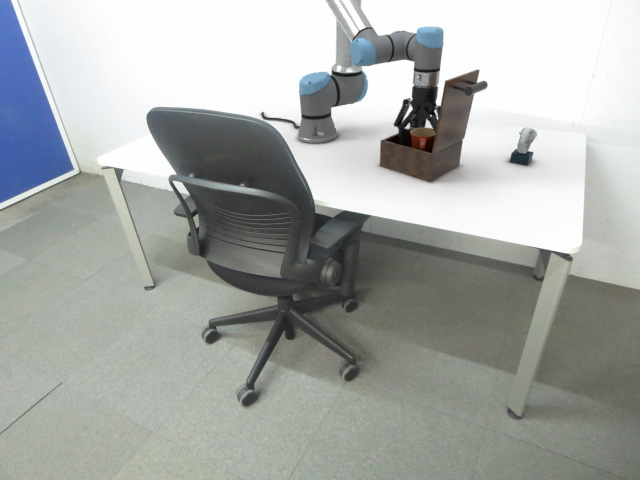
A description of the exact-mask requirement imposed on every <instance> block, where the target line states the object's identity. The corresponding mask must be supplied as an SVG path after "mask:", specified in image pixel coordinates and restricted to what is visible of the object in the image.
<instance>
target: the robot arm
mask: <svg viewBox="0 0 640 480" xmlns="http://www.w3.org/2000/svg"><path fill="white" fill-rule="evenodd" d="M325 2H326V4H327V6H328V7H329V9H330V10H331V12H332V14H333V16H334V17H335V63H334V65H332V67H331V74H330V72H327V71H318V72H311V73H308V74H305V75H304V76H302V77H301V78H300V80H299V82H298V93H299V105H300V115H301V119H300V123H299V125H297V123H296V122H295V121H294V120H293V119H289V118H282V117H269V116H265V111H261V114H260V115H261V117H262V118H263V119H264V120H269V121H281V122H282V121H283V122H287V123H291V124H293V127H294V128H295V129H298V132H297V138H298V140H299V141H300V142H303V143H307V144H324V143H328V142H331V141H334V140H335V139H336V138H337V136H338V132H337V128H336V126H335V122H334V120H333V117H332V108H337V107H341V106H347V105H353V104H355V103H359V102H361V101H362V100H363V99H364V98H365V97H366V95H367V92H368V88H369V80H368V79H367V78H368V76H367V74H366V72H364V71H363V67H371V66H375V65H380V64H385V63H393V62H398V61H410V62H412V63H413V75H412V84H413V86H412V87H411V90H412V91H411V97H406V98H405V99H403V100H402V104H401V108H400V109H399V110H400V111H398V114H397V116H396V119H395V121H394V123H393V127H395V128H397V130H398V132H397V133H398V138H399V139H400V145H403V146H406V141H407V129H408V128H407V126H409V125H410V121H411V120H412V119H413V118H414V117H415V116H416V115H417V117H422V118H427V119H426V121H428V122H429V124H430V126H431V128H432V129H433V130H434V132H435V134H436V128H437V123H438V117H439V112H440V106H441V104H439V105H438V104H437V99H438V94H439V93H438V92H439V87H438V85H439V83H440V74H441V65H442V57H443V47H444V29H443V28H442V27H440V26H422V27H421V26H420V27H418V28H417V30H416V32H410V31H406V30H395V31H393V32H392V33H390V34H382V35H379V34H378V33H377V31H376V30H375V28H374V27H373V26H372V23H371V22H370V20H369V19H368V17H367V15H366V14H365V12H364V11H363V9H362V0H325ZM410 107H411V108H412V109H411V110H410V112H409V113H408V111H409V109H410ZM407 113H408V115H407Z"/></svg>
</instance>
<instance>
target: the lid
mask: <svg viewBox="0 0 640 480" xmlns="http://www.w3.org/2000/svg"><path fill="white" fill-rule="evenodd" d="M479 74H480V69H474V70H472V71H469V72H466V73H463V74H460V75H457V76H455V77H452V78H449V79H446V80H444V84H443V90H442V95H441V102H440V112H439V117H438V116H437V119H438V123H437V128H436V134H435V139H434V145H433V150H432V153H434V154H435V153H437V152H439V151H441V150H442V149H444V148H446V147H448V146H450V145H452V144H454V143H456V142H458V141H460V140H462V139H463V140H464V139H465V136H466V132H467V127H468V124H469V119H470V114H471V110H472V106H473V101H474V98H475V97H474V96H475V94H478V93H480V92H482V91H485V90H486V89H487V88H488V87H489V86H488V82H487V81H486V80H481V81H479V82H478V79H479Z"/></svg>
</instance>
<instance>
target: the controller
mask: <svg viewBox="0 0 640 480" xmlns="http://www.w3.org/2000/svg"><path fill="white" fill-rule="evenodd" d="M426 124H427V118H422V117H417V115H416V116H415V117H414V118H413V119H412V120H411V121H410V123H409V128H411V127H412V128H426Z"/></svg>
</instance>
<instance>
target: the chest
mask: <svg viewBox="0 0 640 480" xmlns="http://www.w3.org/2000/svg"><path fill="white" fill-rule="evenodd" d="M406 129H407V141H406V146H403V145H400V139H399V138H398V133H399V132H396V133H395V134H392V135H390V136H388V137H386V138H383V139H381V140H380V145H379V146H380V149H379V156H380V157H379V167H382V168H385V169H388V170H391V171H395V172H397V173H401V174H404V175H407V176H410V177H413V178H415V179H419V180H422V181H425V182H427V183H432V182H433V181H435V180H437V179H438V178H440V177H442V176H444V175H445V174H447V173H449V172H451V171H453V170H454V169H455V168H458V167H459V166H460V163H461V156H462V149H463V148H462V147H463V141H464V139H462V140H460V141H458V142H456V143H454V144H452V145H450V146H448V147H446V148H444V149H442V150H441V151H439V152H437V153H435V154H434V153H428V152H425V151H421V150H417V149H414V148H411V146H412V139H411V135H410V131H411V130H413V129H415V128H412V127H411V128H410V127H409V128H406Z"/></svg>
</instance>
